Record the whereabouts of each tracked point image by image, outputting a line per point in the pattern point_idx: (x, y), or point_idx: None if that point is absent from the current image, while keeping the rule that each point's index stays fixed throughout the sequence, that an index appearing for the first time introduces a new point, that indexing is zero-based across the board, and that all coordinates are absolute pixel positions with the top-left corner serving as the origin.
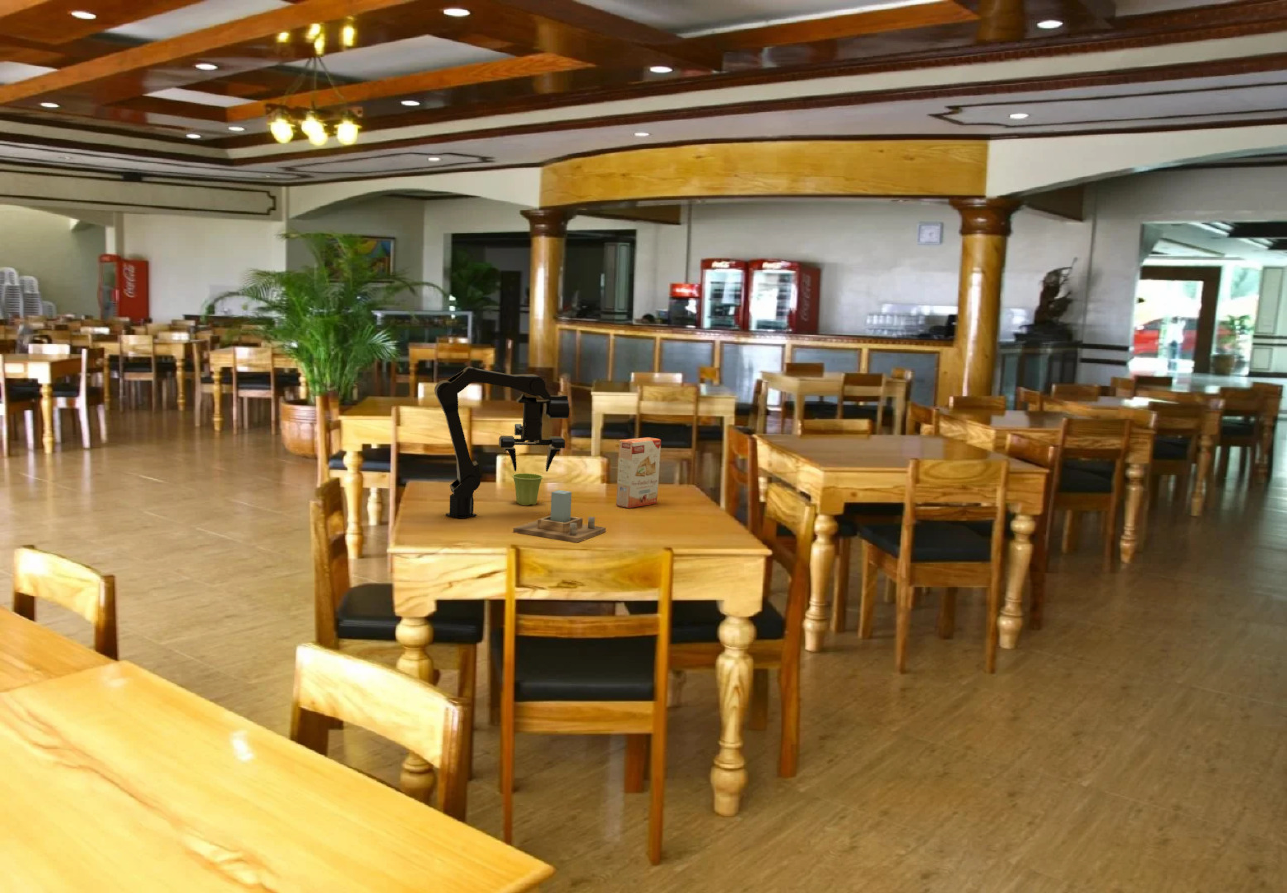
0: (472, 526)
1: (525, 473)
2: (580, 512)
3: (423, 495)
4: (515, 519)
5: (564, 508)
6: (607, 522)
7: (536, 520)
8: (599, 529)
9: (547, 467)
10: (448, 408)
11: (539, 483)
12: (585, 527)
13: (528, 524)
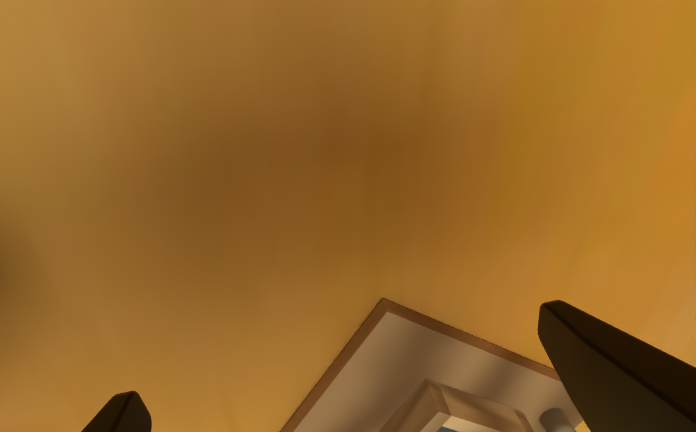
0: (64, 425)
1: None
2: (629, 20)
3: None
4: (237, 270)
5: None
6: (669, 245)
7: (349, 361)
8: (573, 425)
9: (577, 394)
10: None
11: None
12: (533, 413)
13: (315, 424)
